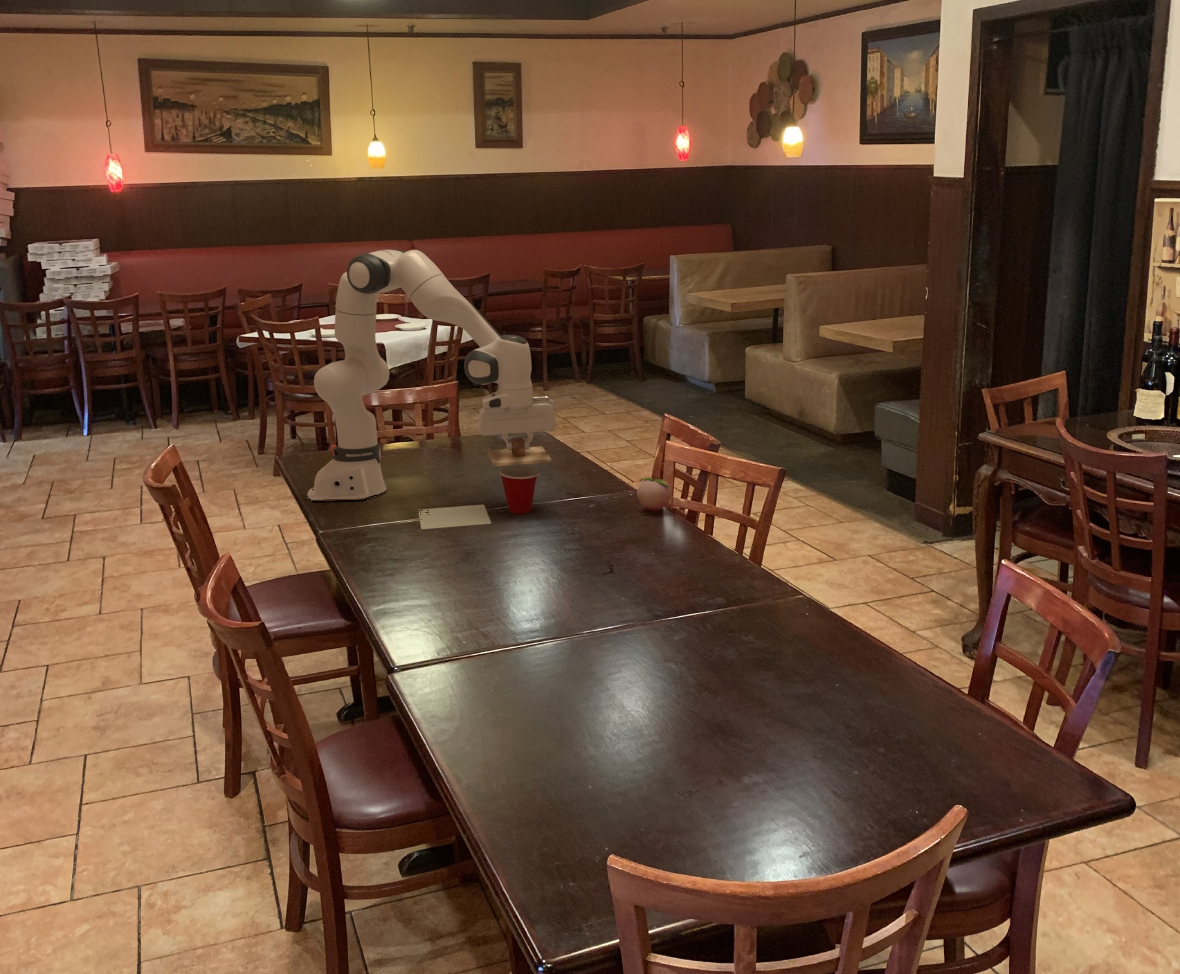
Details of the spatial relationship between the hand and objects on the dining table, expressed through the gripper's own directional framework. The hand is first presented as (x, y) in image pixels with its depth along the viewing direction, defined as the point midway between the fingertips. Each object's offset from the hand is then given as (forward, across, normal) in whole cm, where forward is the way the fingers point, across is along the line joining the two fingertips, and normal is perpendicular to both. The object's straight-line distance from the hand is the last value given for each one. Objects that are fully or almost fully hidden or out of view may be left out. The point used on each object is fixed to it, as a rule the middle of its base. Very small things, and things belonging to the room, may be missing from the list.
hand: (518, 449), depth 293 cm
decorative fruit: (+18, -34, +9) cm, 40 cm away
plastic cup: (+18, 0, 0) cm, 18 cm away
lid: (+2, 0, 0) cm, 2 cm away
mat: (+18, +18, 0) cm, 25 cm away
